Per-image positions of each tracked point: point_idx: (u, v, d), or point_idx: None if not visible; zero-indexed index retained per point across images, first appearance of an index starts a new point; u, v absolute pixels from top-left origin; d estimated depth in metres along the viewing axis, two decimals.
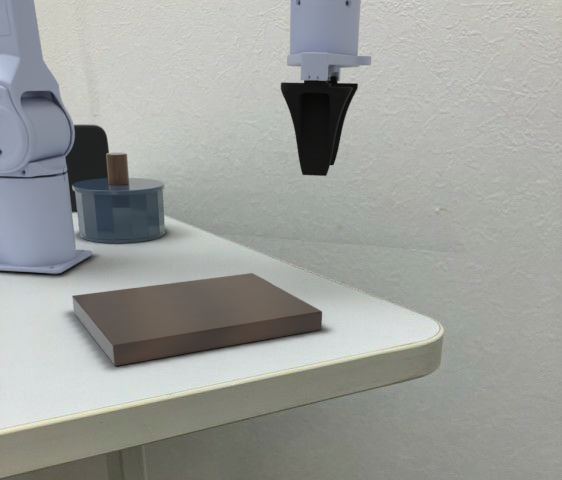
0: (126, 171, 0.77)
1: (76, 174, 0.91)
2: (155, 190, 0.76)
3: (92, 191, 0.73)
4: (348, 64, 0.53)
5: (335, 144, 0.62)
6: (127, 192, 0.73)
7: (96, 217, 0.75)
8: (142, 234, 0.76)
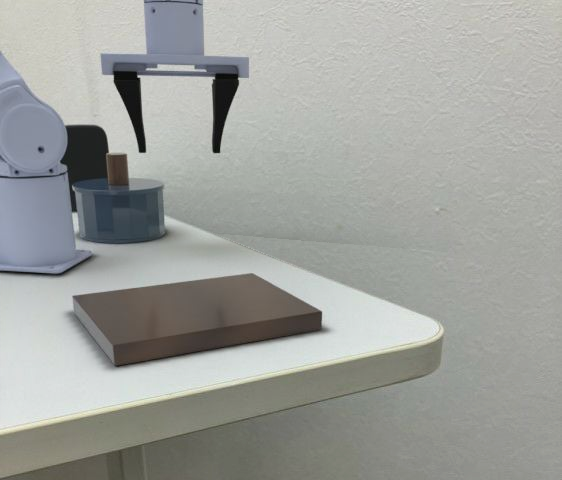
0: (126, 171, 0.77)
1: (76, 174, 0.91)
2: (155, 190, 0.76)
3: (92, 191, 0.73)
4: None
5: (144, 132, 0.69)
6: (127, 192, 0.73)
7: (96, 217, 0.75)
8: (142, 234, 0.76)
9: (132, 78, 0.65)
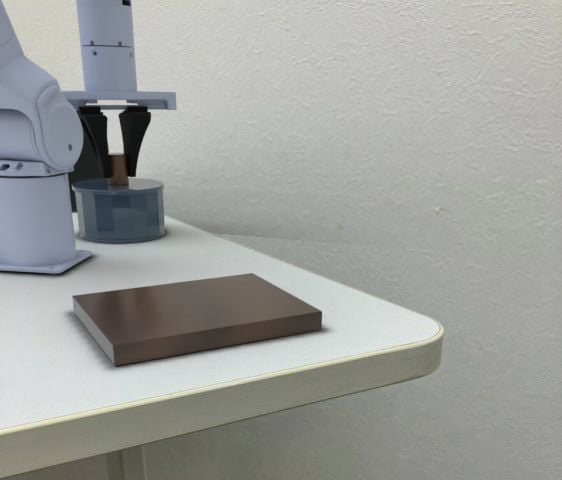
0: (126, 171, 0.77)
1: (76, 174, 0.91)
2: (155, 190, 0.76)
3: (92, 191, 0.73)
4: None
5: None
6: (127, 192, 0.73)
7: (96, 217, 0.75)
8: (142, 234, 0.76)
9: (97, 113, 0.73)
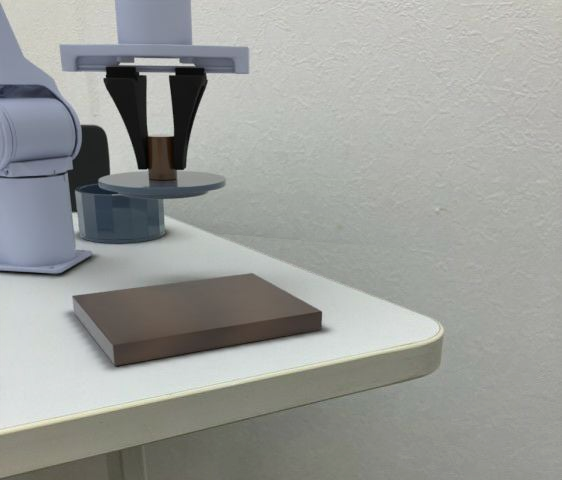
0: (169, 161, 0.54)
1: (76, 174, 0.91)
2: (192, 190, 0.52)
3: (105, 185, 0.52)
4: None
5: None
6: (145, 190, 0.51)
7: (96, 217, 0.75)
8: (142, 234, 0.76)
9: (129, 76, 0.51)
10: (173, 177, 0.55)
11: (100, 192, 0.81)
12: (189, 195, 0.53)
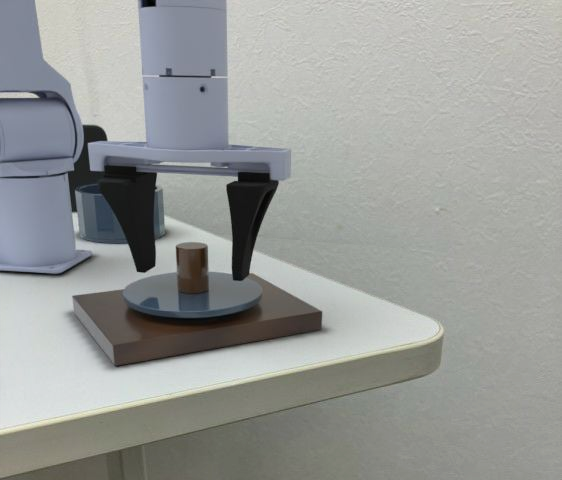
0: (198, 274, 0.49)
1: (76, 174, 0.91)
2: (212, 314, 0.46)
3: (125, 300, 0.48)
4: None
5: (153, 242, 0.51)
6: (160, 312, 0.46)
7: (96, 217, 0.75)
8: None
9: (126, 176, 0.47)
10: (202, 290, 0.50)
11: (100, 192, 0.81)
12: None
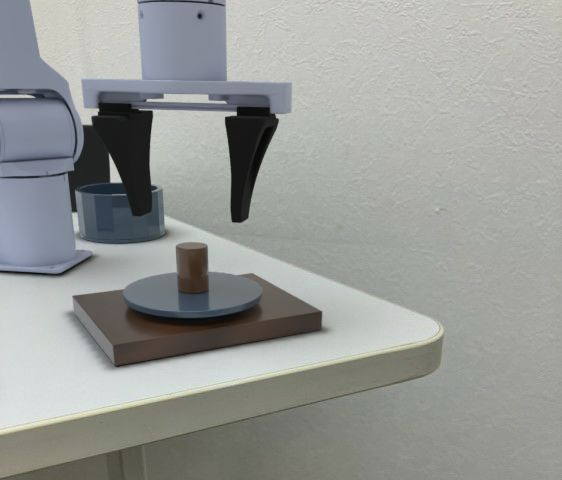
0: (198, 274, 0.49)
1: (76, 174, 0.91)
2: (212, 314, 0.46)
3: (125, 300, 0.48)
4: None
5: (149, 186, 0.50)
6: (160, 312, 0.46)
7: (96, 217, 0.75)
8: (142, 234, 0.76)
9: (121, 113, 0.46)
10: (202, 290, 0.50)
11: (100, 192, 0.81)
12: None
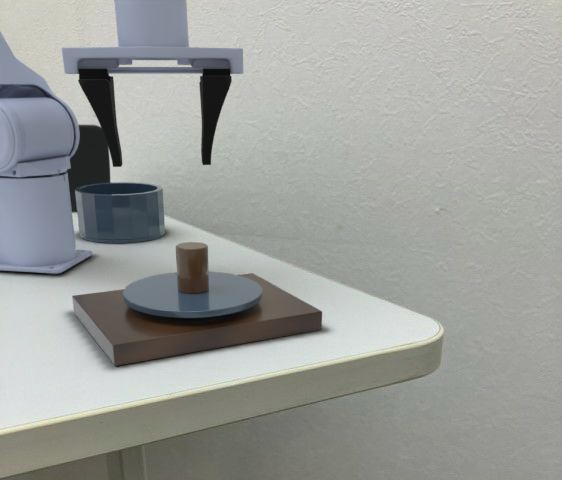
0: (198, 274, 0.49)
1: (76, 174, 0.91)
2: (212, 314, 0.46)
3: (125, 300, 0.48)
4: None
5: (119, 141, 0.58)
6: (160, 312, 0.46)
7: (96, 217, 0.75)
8: (142, 234, 0.76)
9: (102, 77, 0.54)
10: (202, 290, 0.50)
11: (100, 192, 0.81)
12: None
